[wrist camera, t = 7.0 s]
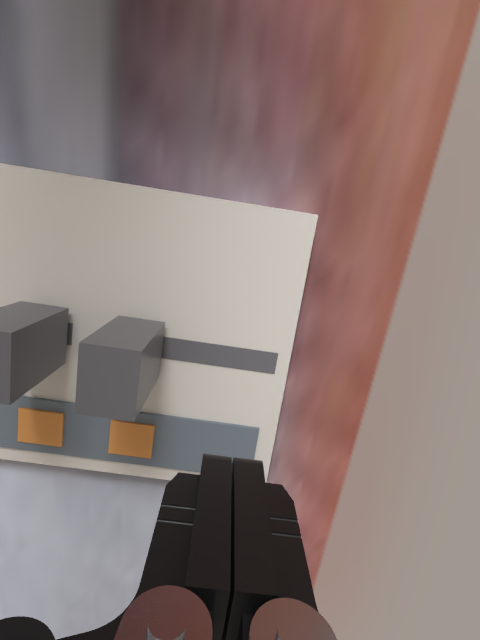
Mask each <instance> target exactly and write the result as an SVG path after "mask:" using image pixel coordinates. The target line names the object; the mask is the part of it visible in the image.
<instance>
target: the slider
mask: <svg viewBox="0 0 480 640" xmlns="http://www.w3.org/2000/svg"><path fill="white" fill-rule="evenodd" d="M164 329H165V322H161V321H154V320H147V319H140V318H133V317H126V316H120V315H119V316H117V317H116V318H114V319H113V320H111V321H110V322H108V323H107V324H105V325H104V326H102V327H101V328H99V329H98V330H97V331H95V332H94V333H92V334H91V335H89V336H88V337H86V338H85V339H83V340H82V341H80V342H79V350H78V365H77V381H76V397H75V413H74V414H79V415H87V416H94V417H102V418H109V419H117V420H124V421H132V422H135V420H136V418H137V416H138V414H139V413H140V411H141V409H142V407H143V405H144V403H145V401H146V400H147V398H148V396H149V394H150V392H151V390H152V388H153V387H154V385H155V383H156V381H157V379H158V377H159V373H160V364H161V355H162V346H163V338H164Z"/></svg>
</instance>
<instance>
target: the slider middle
mask: <svg viewBox="0 0 480 640" xmlns="http://www.w3.org/2000/svg"><path fill="white" fill-rule="evenodd" d="M68 311H69V308H65V307H58V306H51V305H44V304H38V303H31V302H24V301H19V302H16V303H13V304H10V305H6V306H3V307H0V404H4V405H11V404H12V403H13V402H15V401H16V400H17V399H19V398H20V397H21V396H23V395H24V394H25V393H27V392H28V391H29V390H31V389H32V388H33V387H35V386H36V385H37V384H39V383H40V382H41V381H43V380H44V379H45V378H47V377H48V376H49V375H51V374H52V373H53V372H55V371H56V370H57V369H59V368H60V367H61V366H63V365H64V364H65V363H66V347H67V329H68Z"/></svg>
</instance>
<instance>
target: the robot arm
mask: <svg viewBox="0 0 480 640" xmlns="http://www.w3.org/2000/svg"><path fill="white" fill-rule="evenodd" d="M0 640H55V638H54V636H53V634H52V632H51V630H50V629H49V628H48V627H47V626H46V625H45V624H44V623H42V622H41V621H39V620H37V619H34V618H30V617H11V618H5V619H2V620H0ZM57 640H337V639H336V636H335V634H334V632H333V630H332V629H331V627H330V625H329V624H328V623H327V621H326V620H325V619H324V618H323V617H322V616H321V614H319V612H318V610H317V606H316V602H315V598H314V593H313V589H312V584H311V579H310V575H309V570H308V566H307V561H306V556H305V552H304V547H303V543H302V539H301V534H300V529H299V524H298V523H297V515H296V511H295V506H294V501H293V500H292V498H291V497H290V496H289V494H288V493H287V491H286V490H285V489H284V487H283V486H282V485H279V484H271V483H265V475H264V467H263V462H262V461H260V460H253V459H245V458H237V457H234V458H233V461H232V457H228V456H220V455H212V454H204V453H203V458H202V465H201V471H200V475H197V474H189V473H181V472H178V473H177V474H176V476H175V477H174V478H173V479H172V480H171V481H170V482H169V483H168V484H167V485H166V488H165V492H164V495H163V499H162V503H161V507H160V511H159V514H158V518H157V522H156V526H155V529H154V533H153V537H152V541H151V544H150V548H149V552H148V556H147V559H146V563H145V567H144V571H143V575H142V578H141V582H140V586H139V588H138V591H137V593H136V595H135V597H134V599H133V601H132V602H131V603H130V605H129V606H128V607H127V608H126V609H125V611H124V612H123V613H122V614H120V615H119V616H118V617H117V618H116V619H114V620H113V621H111V622H110V623H108V624H106V625H104V626H102V627H100V628H98V629H95V630H92V631H89V632H85V633H81V634H77V635H73V636H69V637H65V638H61V639H57Z"/></svg>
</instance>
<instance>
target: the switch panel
mask: <svg viewBox="0 0 480 640" xmlns="http://www.w3.org/2000/svg"><path fill="white" fill-rule="evenodd" d="M317 218H318V215H315V214H309V213H303V212H297V211H291V210H285V209H279V208H272V207H266V206H260V205H254V204H248V203H242V202H236V201H230V200H224V199H217V198H211V197H205V196H199V195H193V194H187V193H181V192H175V191H168V190H162V189H156V188H150V187H144V186H138V185H132V184H126V183H120V182H113V181H107V180H101V179H95V178H89V177H83V176H77V175H71V174H65V173H58V172H52V171H46V170H40V169H34V168H28V167H22V166H16V165H9V164H3V163H0V307H3V306H6V305H10V304H13V303H16V302H19V301H24V302H31V303H38V304H44V305H51V306H58V307H65V308H69V311H68V329H67V347H66V363H65V364H64V365H63V366H61V367H60V368H59V369H57V370H56V371H55V372H53V373H52V374H51V375H49V376H48V377H47V378H45V379H44V380H43V381H41V382H40V383H39V384H37V385H36V386H35V387H33V388H32V389H31V390H29V391H28V392H27V393H25V394H24V395H23V396H21V397H20V398H19V399H17V400H16V401H15V402H13V403H12V404H11V405H4V404H0V459H5V460H13V461H21V462H29V463H37V464H45V465H53V466H61V467H68V468H76V469H84V470H92V471H100V472H108V473H116V474H124V475H132V476H140V477H148V478H156V479H163V480H172V479H173V478H174V477H175V476H176V474H177V473H178V472H181V473H189V474H197V475H200V471H201V465H202V458H203V453H204V454H212V455H220V456H228V457H232V461H233V458H234V457H237V458H245V459H253V460H260V461H262V462H263V467H264V475H265V483H266V481H267V476H268V471H269V466H270V461H271V456H272V450H273V445H274V440H275V435H276V430H277V425H278V420H279V414H280V409H281V404H282V399H283V394H284V389H285V383H286V378H287V373H288V368H289V363H290V358H291V352H292V347H293V342H294V337H295V332H296V327H297V321H298V316H299V311H300V306H301V301H302V296H303V290H304V285H305V280H306V275H307V270H308V265H309V260H310V254H311V249H312V244H313V239H314V234H315V229H316V223H317ZM119 315H120V316H126V317H133V318H140V319H147V320H154V321H161V322H165V329H164V338H163V346H162V355H161V364H160V373H159V377H158V379H157V381H156V383H155V385H154V387H153V388H152V390H151V392H150V394H149V396H148V398H147V400H146V401H145V403H144V405H143V407H142V409H141V411H140V413H139V414H138V416H137V418H136V420H135V422H132V421H124V420H117V419H109V418H102V417H94V416H87V415H79V414H74V413H75V397H76V381H77V365H78V350H79V342H80V341H82V340H83V339H85V338H86V337H88V336H89V335H91V334H92V333H94V332H95V331H97V330H98V329H99V328H101V327H102V326H104V325H105V324H107V323H108V322H110V321H111V320H113V319H114V318H116V317H117V316H119Z"/></svg>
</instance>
